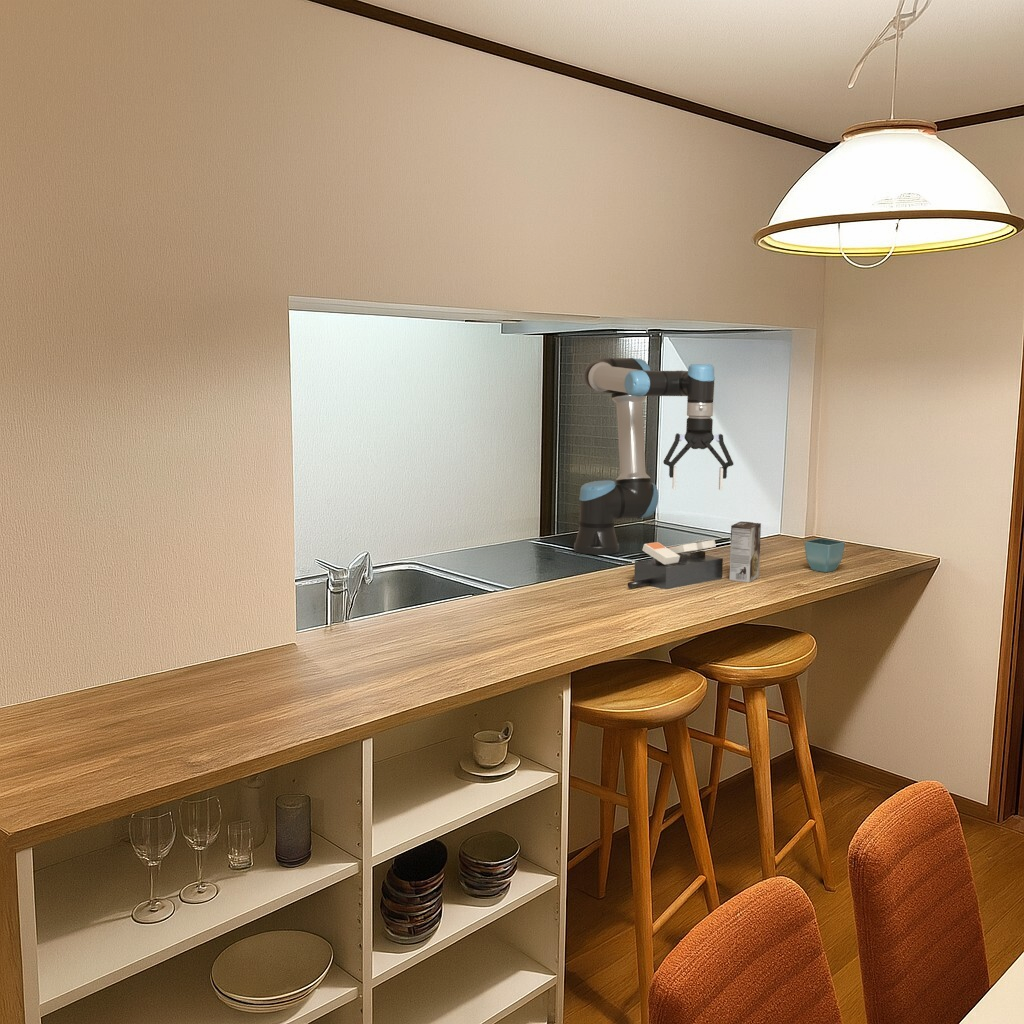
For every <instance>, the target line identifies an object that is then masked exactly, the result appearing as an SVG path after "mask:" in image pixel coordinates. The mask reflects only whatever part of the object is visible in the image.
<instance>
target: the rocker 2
mask: <svg viewBox="0 0 1024 1024" xmlns="http://www.w3.org/2000/svg"><path fill="white" fill-rule="evenodd" d="M696 543H697V542H692V543H691V542H690V543H686V544H680V545H676V546H669V547H667V548H668V549H670V550H671V551H673V552H674V553H676V554H681V553H683V554H684V553H685V552H689V551H694V550H698V549H697V544H696ZM689 553H690V552H689Z"/></svg>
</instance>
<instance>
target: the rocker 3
mask: <svg viewBox="0 0 1024 1024" xmlns="http://www.w3.org/2000/svg"><path fill="white" fill-rule="evenodd" d="M695 543H696V544H697V549H698V550H694V551H689V552H685V553H690V552H698V551H705V550H707V549H711V548H716V546H717V545H716V540H715V539H713V540H705V541H699V542H695ZM681 554H684V553H681Z"/></svg>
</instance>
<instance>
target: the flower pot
mask: <svg viewBox="0 0 1024 1024" xmlns="http://www.w3.org/2000/svg"><path fill="white" fill-rule="evenodd" d="M845 545H846V541H840V540H835V539H834V540H833V539H828V538H816V539H810V540H804V551H805V557H806V562H807V563H808V566H809V567H810V569H811V570H812V571H817V572H822V573H829V572H833V571H836V570H837V568H838V567H839V565H840V563H841V562H842V559H843V556H844V551H845Z"/></svg>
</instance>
